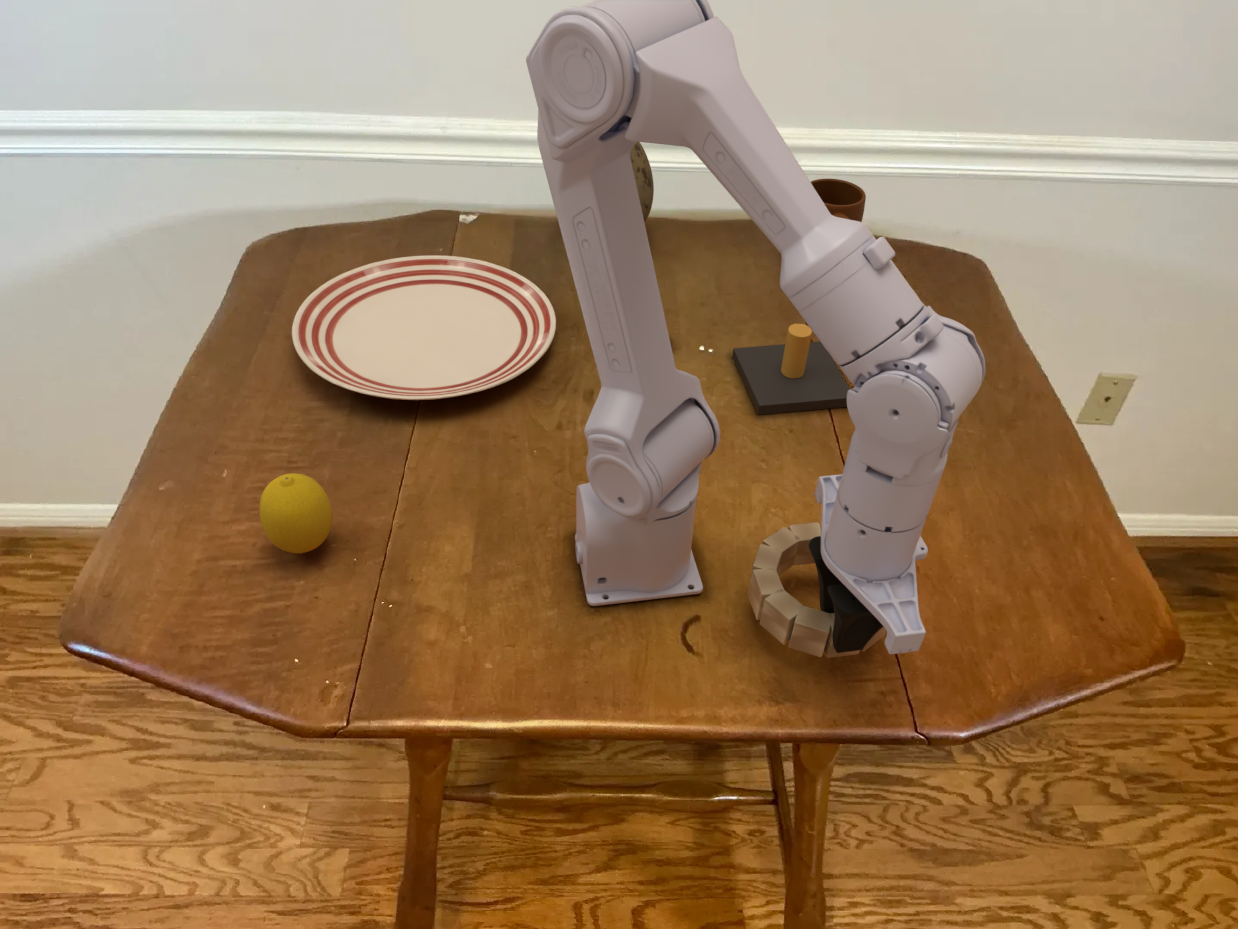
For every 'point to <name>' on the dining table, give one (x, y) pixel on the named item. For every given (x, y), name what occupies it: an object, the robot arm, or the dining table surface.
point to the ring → (778, 606)
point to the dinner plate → (424, 327)
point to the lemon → (295, 513)
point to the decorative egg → (642, 178)
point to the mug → (841, 198)
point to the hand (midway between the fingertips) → (842, 633)
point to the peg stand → (791, 375)
